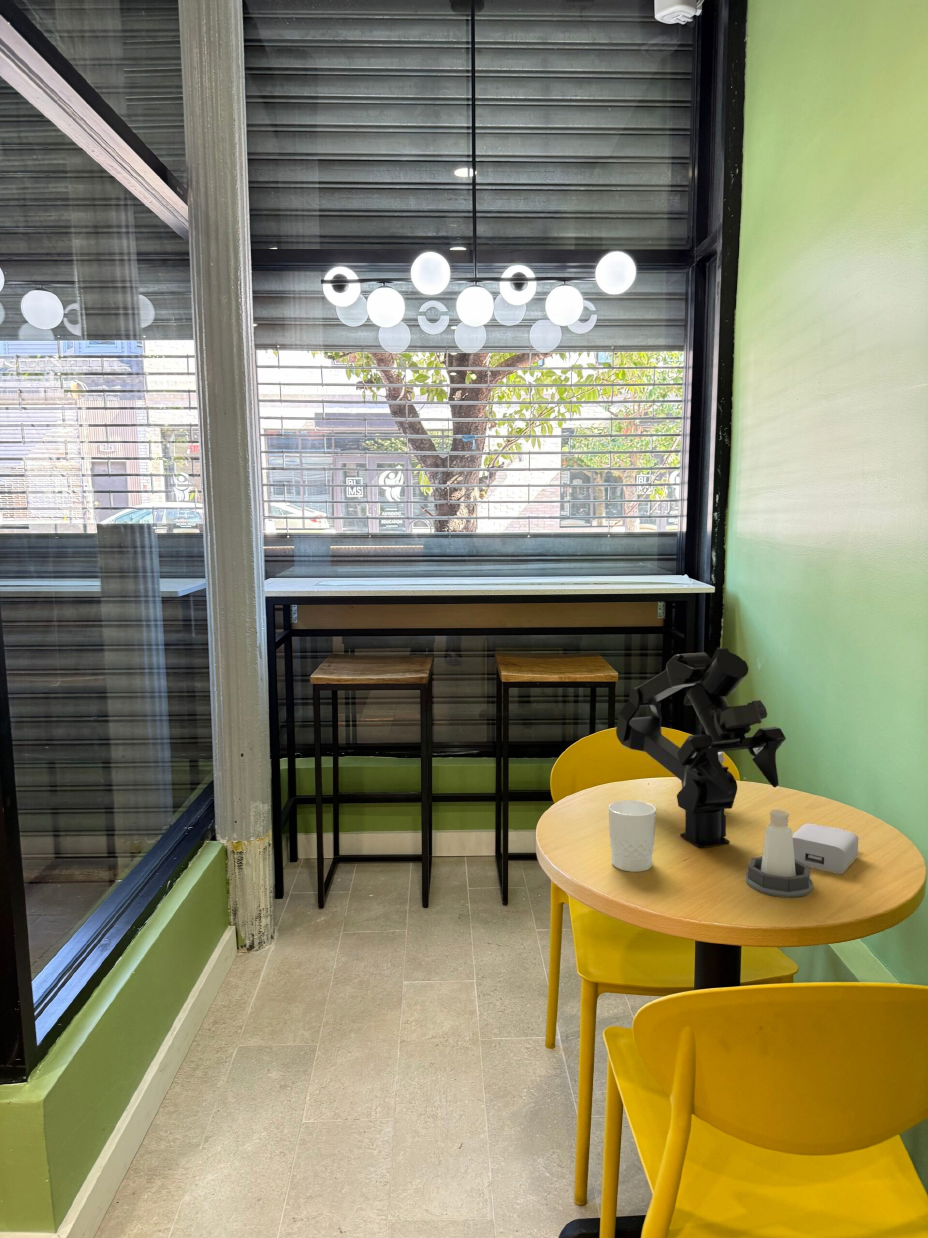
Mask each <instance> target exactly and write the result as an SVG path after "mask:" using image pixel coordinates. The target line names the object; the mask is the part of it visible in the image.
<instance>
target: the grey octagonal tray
mask: <svg viewBox="0 0 928 1238" xmlns="http://www.w3.org/2000/svg"><path fill="white" fill-rule="evenodd" d="M762 857H763V855H761V856H755V857H751V858H750V860H749V862H748V865H747V871H746V873H745V882H746V884H747V885H748V886H749V887H750V888H751V889H753V890H755V891H756V892H759V893H762V894H764V895H769V896H771V897H772V896H773V897H777V898H791V899H792V898H801V897H805V896H807V895H809V894H811V893H812V892H813V891H814V889H813V888H814V886H813V885H814V883H813V880H812V879H811V867H809V866H807V865H805V864H803V863H801V862H799V861H797V860H795V859H794V860H795V871H796V876H792V877H782V876H776V875H770V874H766V873H764V872H762V871H761V864H762Z"/></svg>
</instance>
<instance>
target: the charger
mask: <svg viewBox="0 0 928 1238" xmlns="http://www.w3.org/2000/svg"><path fill="white" fill-rule="evenodd" d="M792 837H793V848H794V859H795V860H797V861H799V862H801V863H803V864H805V865H807V866H809V867H810V869H811V868H812V869H817V870H820V871H824V870H825V871H824V872H828V871H829V872H828V873H832V872H835V873H834V874H837V873H839V874H838V875H842V874H844V873H845V872H846V870H847V869H848V868H849V867H850V866H851V865H852V863H853V862H854V861H856V859H857V857H858V856H859V836H858V835H857V834H856V833H854V832H852V831H849V830H845V829H842V828H838V827H833V826H824V825H820V824H814V823H804V824H803V825H802V826H800V827H799V828H798V830H796V831H795V832H794V833H792Z"/></svg>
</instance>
